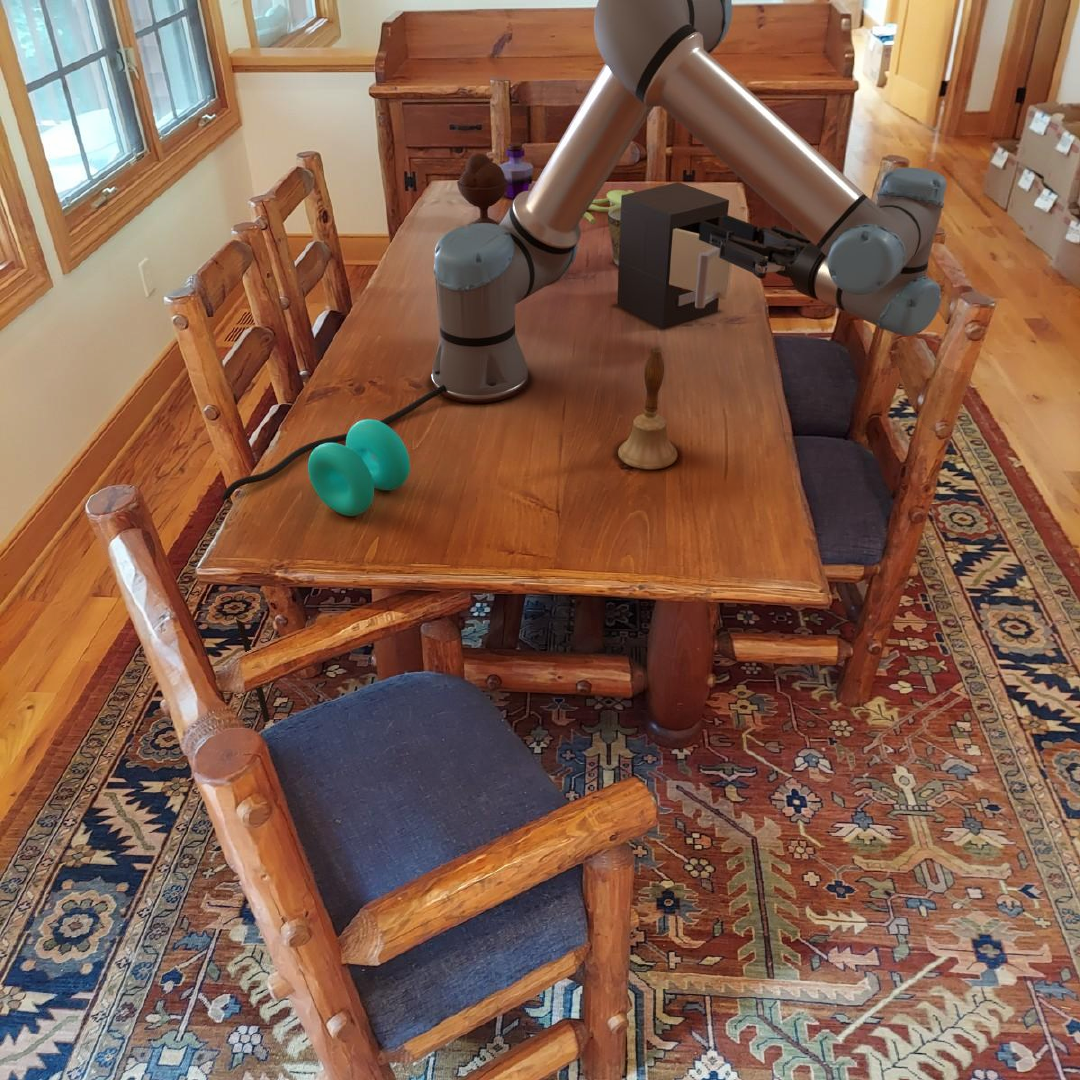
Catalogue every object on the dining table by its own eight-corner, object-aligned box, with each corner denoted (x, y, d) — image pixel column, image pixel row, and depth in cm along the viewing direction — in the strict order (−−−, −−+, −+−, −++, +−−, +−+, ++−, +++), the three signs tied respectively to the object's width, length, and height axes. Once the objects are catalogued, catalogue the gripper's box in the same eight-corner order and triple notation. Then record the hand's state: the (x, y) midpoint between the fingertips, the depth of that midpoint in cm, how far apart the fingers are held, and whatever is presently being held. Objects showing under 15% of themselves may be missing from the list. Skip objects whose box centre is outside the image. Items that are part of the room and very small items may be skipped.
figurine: (573, 239, 205) (573, 213, 202) (576, 200, 227) (577, 176, 224) (659, 240, 204) (661, 213, 201) (655, 201, 226) (656, 176, 222)
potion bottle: (541, 197, 229) (540, 144, 222) (510, 203, 226) (508, 150, 219) (522, 188, 235) (521, 136, 228) (492, 194, 232) (490, 142, 224)
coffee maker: (719, 312, 173) (731, 200, 162) (664, 330, 168) (673, 215, 156) (670, 289, 182) (678, 181, 171) (616, 305, 177) (621, 195, 165)
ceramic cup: (649, 274, 189) (652, 223, 183) (600, 268, 192) (601, 218, 186) (664, 251, 199) (667, 203, 193) (617, 246, 201) (619, 198, 195)
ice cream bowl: (453, 231, 210) (448, 160, 202) (470, 215, 219) (467, 146, 210) (498, 235, 208) (496, 163, 199) (514, 219, 216) (512, 149, 208)
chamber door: (706, 311, 153) (712, 254, 148) (649, 295, 159) (652, 239, 153) (728, 298, 158) (734, 241, 152) (671, 283, 163) (675, 228, 158)
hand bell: (640, 433, 139) (646, 330, 130) (688, 452, 135) (698, 347, 125) (606, 457, 134) (609, 351, 124) (655, 477, 130) (663, 369, 120)
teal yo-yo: (309, 505, 125) (297, 439, 119) (361, 471, 132) (352, 406, 126) (367, 530, 120) (357, 462, 114) (417, 493, 127) (411, 427, 121)
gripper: (782, 315, 129) (668, 263, 144) (867, 286, 136) (750, 240, 152) (791, 260, 124) (672, 213, 140) (878, 234, 132) (756, 192, 147)
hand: (713, 227), depth 146 cm, fingers open, 4 cm apart
